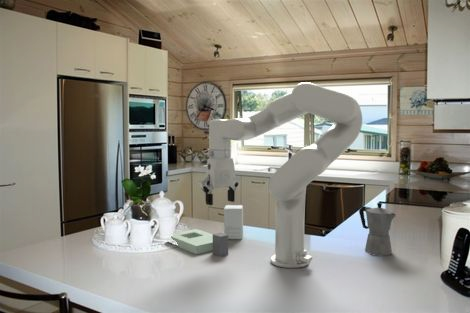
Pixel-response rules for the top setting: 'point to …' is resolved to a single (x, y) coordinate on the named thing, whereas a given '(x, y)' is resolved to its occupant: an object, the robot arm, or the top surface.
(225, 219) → the supplement box
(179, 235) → the socket plate
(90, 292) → the top surface
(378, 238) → the coffeepot
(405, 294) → the top surface
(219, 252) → the plug
